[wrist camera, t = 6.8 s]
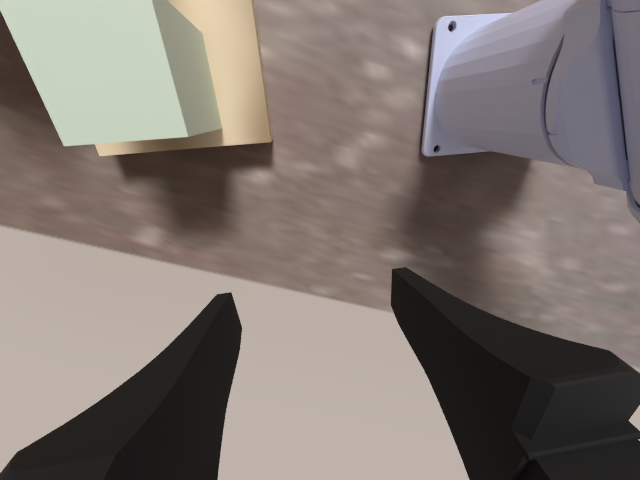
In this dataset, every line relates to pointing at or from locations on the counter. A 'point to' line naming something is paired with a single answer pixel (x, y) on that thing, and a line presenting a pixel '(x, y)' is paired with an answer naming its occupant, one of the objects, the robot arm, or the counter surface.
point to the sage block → (115, 68)
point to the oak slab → (221, 79)
